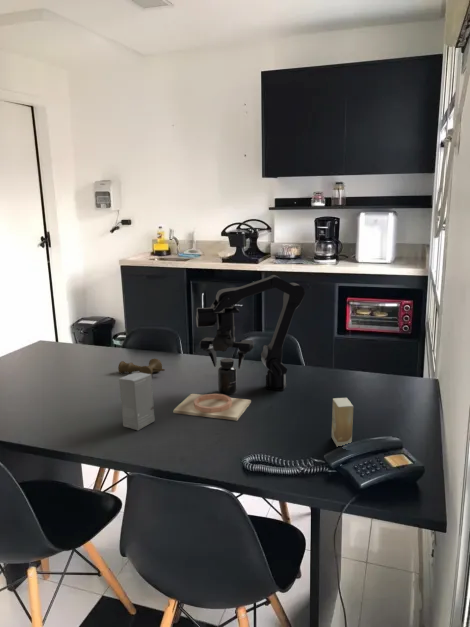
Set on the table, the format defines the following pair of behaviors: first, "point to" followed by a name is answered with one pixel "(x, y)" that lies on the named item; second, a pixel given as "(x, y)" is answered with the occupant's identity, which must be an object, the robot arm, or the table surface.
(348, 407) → the skincare box
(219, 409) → the ring collar
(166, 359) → the table surface
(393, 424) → the table surface
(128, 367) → the kendama
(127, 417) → the skincare box
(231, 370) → the supplement bottle
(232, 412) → the birch board
